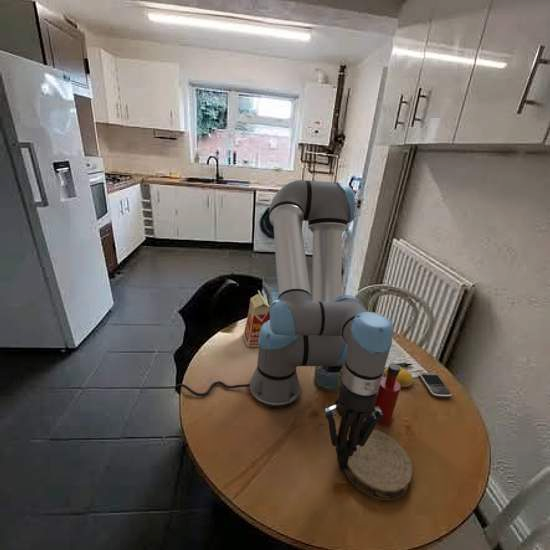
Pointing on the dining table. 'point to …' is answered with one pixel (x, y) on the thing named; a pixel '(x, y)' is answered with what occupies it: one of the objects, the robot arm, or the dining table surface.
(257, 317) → the milk carton
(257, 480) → the dining table surface
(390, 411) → the hot sauce bottle
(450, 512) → the dining table surface
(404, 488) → the woven round trivet
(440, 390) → the cell phone
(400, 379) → the yellow rounded piece
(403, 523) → the dining table surface
